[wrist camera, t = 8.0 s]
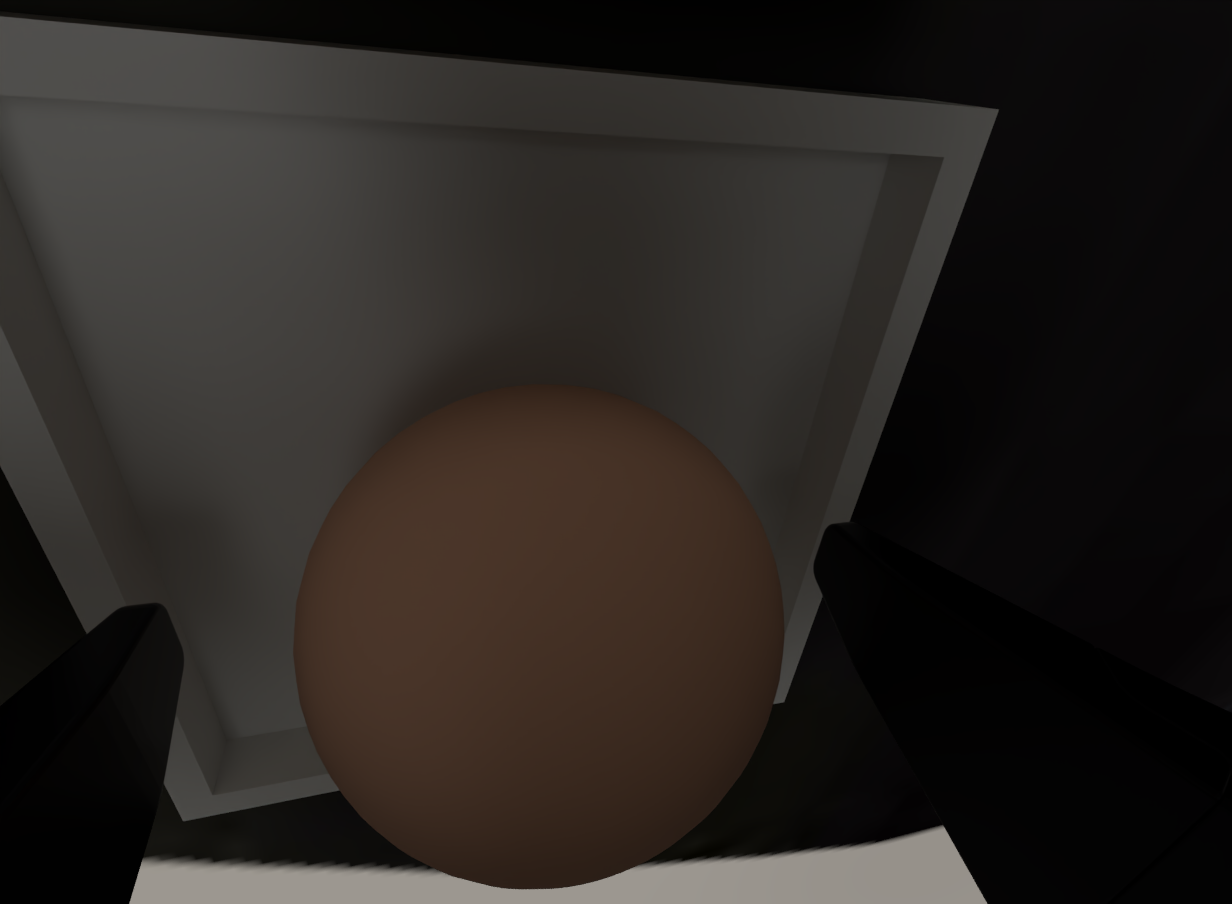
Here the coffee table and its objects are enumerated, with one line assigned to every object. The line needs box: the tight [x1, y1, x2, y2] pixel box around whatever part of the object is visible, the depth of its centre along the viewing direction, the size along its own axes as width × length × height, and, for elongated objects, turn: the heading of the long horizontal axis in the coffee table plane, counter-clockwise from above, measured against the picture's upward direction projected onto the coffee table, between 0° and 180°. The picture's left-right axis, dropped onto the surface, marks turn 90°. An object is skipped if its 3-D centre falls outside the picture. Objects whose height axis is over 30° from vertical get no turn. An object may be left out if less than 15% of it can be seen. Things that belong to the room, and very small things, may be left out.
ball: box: [293, 384, 785, 889], centre depth 8 cm, size 6×6×6 cm
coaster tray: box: [0, 11, 999, 821], centre depth 11 cm, size 12×12×2 cm
